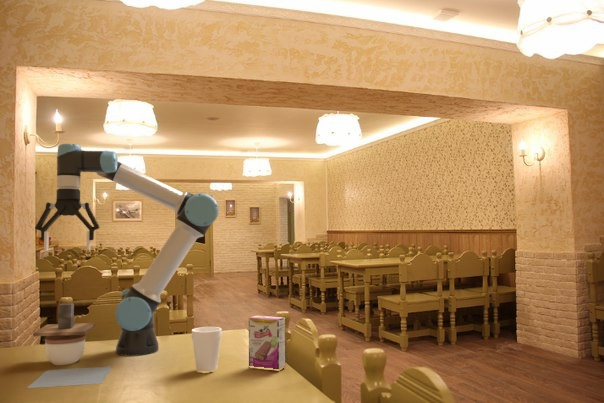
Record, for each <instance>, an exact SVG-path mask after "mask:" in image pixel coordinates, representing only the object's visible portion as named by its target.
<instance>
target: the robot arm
mask: <svg viewBox="0 0 604 403" xmlns="http://www.w3.org/2000/svg"><path fill="white" fill-rule="evenodd" d="M117 155H118V154H117V153H116V152H115V151H109V150H84V149H83V150H82V146H81V145H80V144H76V143H60V144H59V145H58V147H57V156H56V188H57V189H56V196H55V197H56V202H55V203H53V202H46V204H45V208H44V211H43V213H42V214H41V216H40V217H39V219H38V221H37V223H36V225H35V227H34V228H35V230H37V231H40V234H41V235H40V241H42V242H43V251H45V252H47V251H49V249H50V248H49V247H50V245H49V244H50V243H49V242H50V231H47V230H48V229H50V228H51V226H52V225H53V224H54V223H55V222H56V221H57V219H59V218H60V217H61V216H63V217H67V216H70V217H72V216H76V217H77V218H78V220H80V221H81V222H82V224H83V226H85V227H86V228H87V229H88V230H86V251H91V243H92V242H91V241H94V240H95V239H94V238H95V237H94V235H95V231H97V230H99V229H100V225H99V223H98V221H97V219H96V216H95V215H94V213H93V211H92V209H91V203H90V202H84V203H83V202H82V203H81V190H80V188H81V179H82V178H81V176H82V175H81V174H82V173H96V174H97V175H98V176H100V177H101V178H104V179H108V180H109V181H112V182H114V183H115V184H118V185H120V186H122V187H125V189H126V188H127V189H128V190H130V191H134V192H135V193H137V194H140V195H142V196H143V197H146V198H148V199H149V200H152V201H154V202H156V203H159V204H160V205H162V206H164V207H167V208H169V209H171V210H173V211H174V212H175V214H176V215H178V216H177V217H176V219H175V221H176V226H175V227H174V230H172V232H171V234H170V235H169V237H168V238H167V240H166V242H165V243H164V245H163V246H162V248H161V249H160V250H159V252H158V254H157V255H156V256H155V258H154V260H152V263H151V264H150V265H149V267H148V269H147V270H146V271H145V272H144V275H143V276H142V277H141V279H140V281H139V282H137V283H134V284H131V286H130V287H129V289H124V290H123V289H122V291H121V296H120V299H121V301H120V302H119V303H118V304H117V306H116V309H115V319H116V322H117V324H118V325H119V326H120V327H121V328H120V330H121V331H120V334H119V338H118V340H117V343H116V346H115V353H116V354H117V355H119V356H120V355H121V356H142V355H148V354H151V353H152V354H153V353H156V352H158V351H159V341H158V339H157V335H156V331H155V324H154V323H155V315H154V314H155V312H156V311H157V308H158V307H159V306H160V304H161V302H162V299H161V295H162V293H163V292H164V290H165V288H166V287H167V286H168V284H169V282H170V281H171V279H172V278H173V276H174V275H175V273H176V272H177V270H178V268H179V267H180V265H181V264H182V262H183V261H184V260H185V258H186V256H187V254H189V252H190V250H191V249H192V247H193V246H194V244H195V242H197V239H199V238H203V237H205V234H207V232H208V230H209V229H210V227H211V226H212V224H213V223H214V222H215V221H216V220H217V218H218V216H219V211H220V210H219V205H218V202H217V200H216V199H215V198H214V197H213V196H211V195H209V194H207V193H203V192H200V193H196V194H193V193H191V192H189V191H185V192H182V191H181V190H179V189H176V188H175V187H172V186H171V185H168V184H166V183H164V182H162V181H160V180H157V179H155V178H154V177H151V176H149V175H147V174H145V173H142V172H140V171H138V170H136V169H134V168H132V167H130V166H128V165H126V164H124V163H122V162H120V161H118V156H117ZM54 208H55V209H56V211H55V213H54V214H53V215H52V216H51V217H50V218H49V220H47V219H48V217H49V215H50V214H51V211H52V210H53V209H54ZM82 208H83V209H84V210H85V212H86V214H87V215H88V216H87V217H88V218H89V219H90V221H91V223H90V222H89V221H88V220H87V219H86V218H85V217H84V216H83V214H82V213H81V212H80V209H82ZM46 220H47V222H46ZM45 222H46V223H45ZM91 224H92V225H91Z"/></svg>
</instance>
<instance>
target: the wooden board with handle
mask: <svg viewBox="0 0 604 403" xmlns="http://www.w3.org/2000/svg"><path fill="white" fill-rule="evenodd" d="M57 311H58V315H57V324H55V323H52V324H46V325H44V326H42V327H40V328H38V330H36V331H34V332H33V333H32V337H49V336H57V335H84V334H85V335H87V334H88V333H89V332H90V331H91V330H92V329H93V328H95V327H96V323H95V322H87V323H86V322H85V323H74V315H75V314H74V313H75V303H74V302H73V303H71V302H70V303H69V302H67V303H66V302H65V303H59V304H58V310H57Z"/></svg>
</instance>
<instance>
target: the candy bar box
mask: <svg viewBox="0 0 604 403" xmlns="http://www.w3.org/2000/svg"><path fill="white" fill-rule="evenodd" d="M249 366H254V367H264V368H273V369H280V368H282V367H283V366H285V367H286V318H285V317H280V316H279V317H278V316H269V315H268V316H267V315H252V316H250V317H248V367H249Z"/></svg>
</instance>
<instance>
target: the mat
mask: <svg viewBox="0 0 604 403" xmlns="http://www.w3.org/2000/svg"><path fill="white" fill-rule="evenodd" d="M113 368H114V366H100V367H99V366H98V367H97V366H96V367H82V368H81V367H79V368H64V369H63V368H62V369H61V368H60V369H46V371H44V372H43V373H42V374H40V376H39V377H38V378H37V379H36V380H34V381H33V382H31V384H29V385H28V387H27V389H36V388H37V389H38V388H54V387H68V386H83V385H84V386H85V385H86V386H87V385H100V384H103V383H104V381H105V380H106V378H107V376H108V375H109V374H110V372H111V370H112V369H113Z"/></svg>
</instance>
